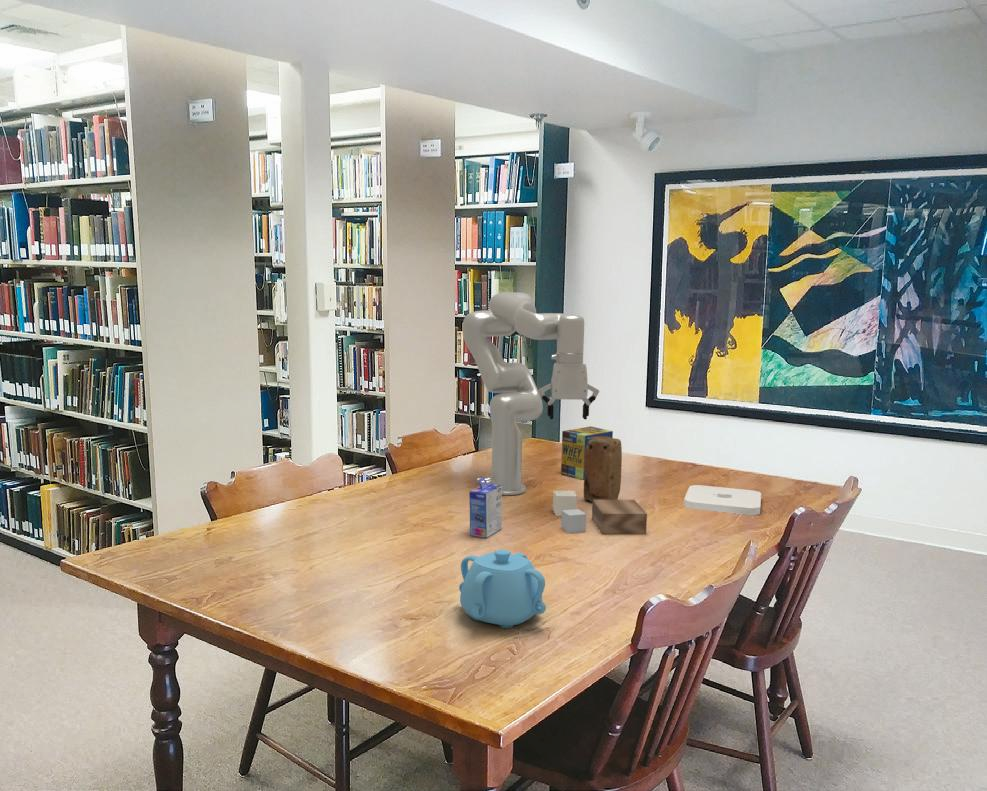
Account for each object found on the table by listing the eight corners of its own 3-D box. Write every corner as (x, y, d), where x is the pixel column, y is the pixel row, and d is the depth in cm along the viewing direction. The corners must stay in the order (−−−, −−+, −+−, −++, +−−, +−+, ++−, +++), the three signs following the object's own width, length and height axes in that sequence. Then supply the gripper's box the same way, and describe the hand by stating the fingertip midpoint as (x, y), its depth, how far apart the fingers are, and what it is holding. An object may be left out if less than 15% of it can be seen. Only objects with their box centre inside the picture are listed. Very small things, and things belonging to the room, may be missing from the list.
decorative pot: (463, 635, 156) (464, 566, 154) (457, 601, 172) (458, 539, 170) (547, 632, 158) (549, 565, 156) (534, 599, 174) (536, 537, 172)
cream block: (555, 516, 236) (556, 495, 235) (552, 510, 242) (553, 490, 241) (576, 516, 236) (577, 496, 235) (572, 510, 242) (573, 490, 241)
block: (622, 502, 251) (625, 438, 248) (609, 507, 245) (612, 442, 242) (592, 496, 258) (594, 433, 255) (578, 501, 252) (581, 437, 249)
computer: (759, 517, 239) (760, 508, 239) (682, 509, 246) (683, 500, 246) (760, 499, 260) (761, 491, 260) (689, 492, 267) (690, 484, 267)
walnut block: (601, 535, 219) (602, 513, 219) (591, 520, 233) (592, 499, 232) (645, 535, 220) (647, 513, 220) (633, 520, 234) (634, 499, 233)
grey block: (568, 533, 220) (569, 515, 219) (561, 528, 225) (561, 510, 224) (585, 532, 221) (586, 514, 221) (577, 526, 226) (578, 509, 225)
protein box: (560, 474, 286) (561, 430, 284) (589, 468, 296) (590, 426, 294) (582, 480, 278) (584, 435, 276) (611, 473, 289) (613, 430, 286)
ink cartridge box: (484, 525, 225) (485, 474, 223) (502, 528, 223) (503, 476, 221) (467, 535, 216) (468, 481, 214) (486, 538, 214) (488, 484, 212)
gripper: (541, 359, 228) (539, 420, 230) (602, 360, 229) (600, 421, 232) (537, 357, 235) (536, 416, 238) (597, 358, 237) (595, 416, 239)
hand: (567, 418), depth 235 cm, fingers open, 9 cm apart
